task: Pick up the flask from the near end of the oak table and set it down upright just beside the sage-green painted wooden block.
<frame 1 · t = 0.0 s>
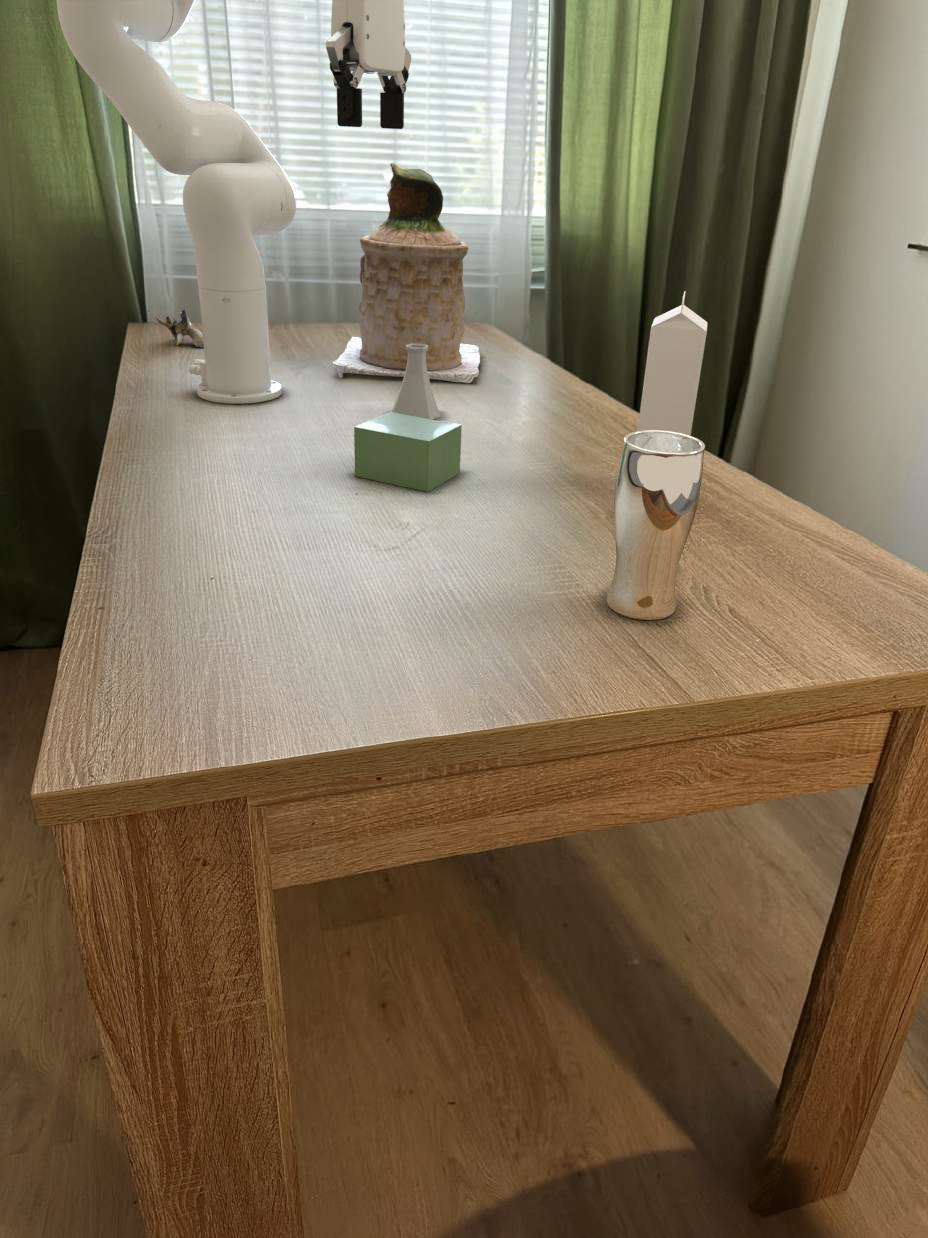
hand: (371, 127, 114), 37 cm above the table, tool pointing down, fingers open, 9 cm apart
green block: (407, 474, 111), on the table
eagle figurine: (187, 344, 171), on the table
beer glass: (640, 606, 82), on the table
milk: (656, 487, 111), on the table
flask: (415, 417, 134), on the table
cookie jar: (410, 366, 163), on the table
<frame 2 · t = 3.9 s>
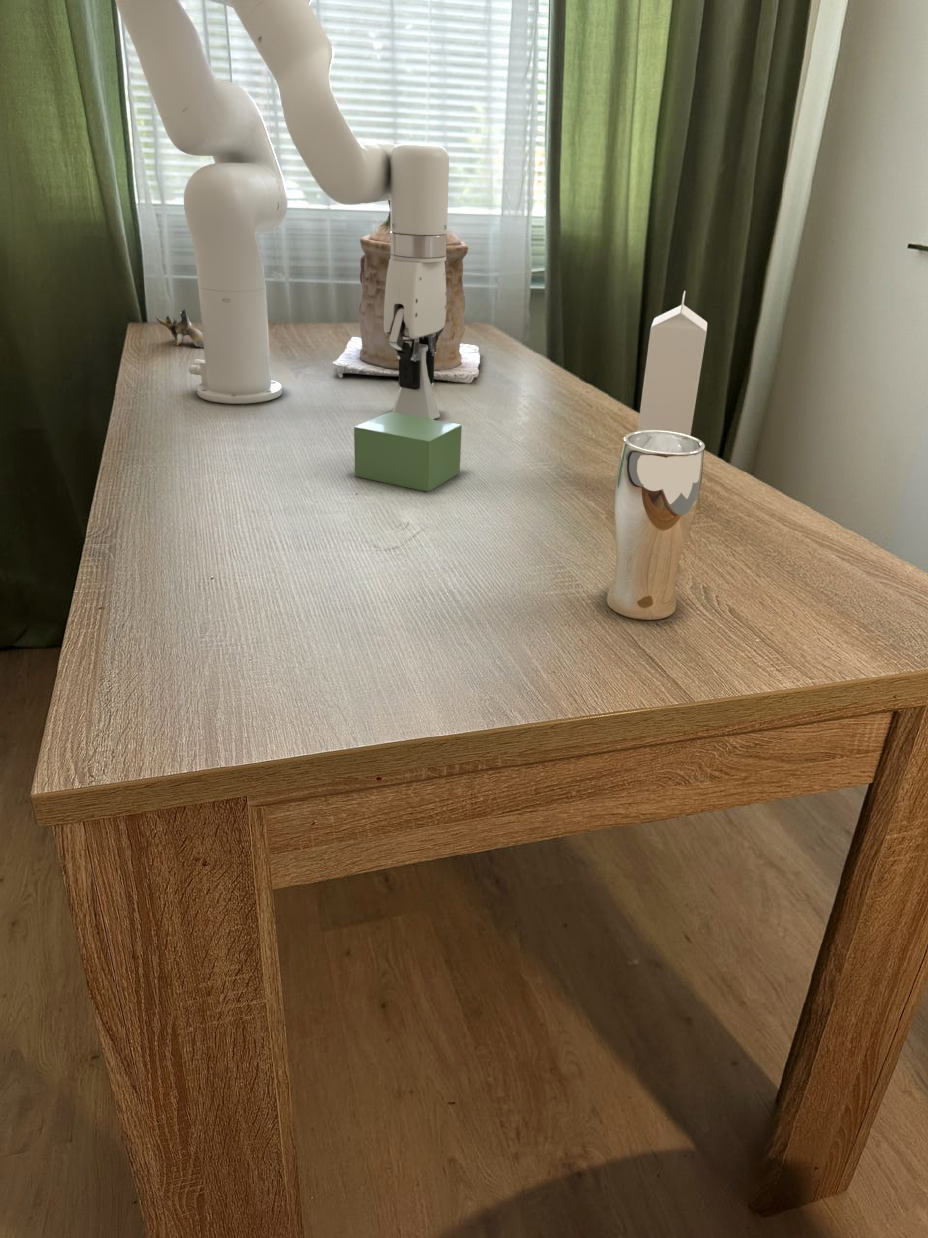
hand: (416, 383, 132), 5 cm above the table, tool pointing down, fingers closed on flask, 3 cm apart
flask: (415, 417, 134), on the table, touching gripper
everything else where it was.
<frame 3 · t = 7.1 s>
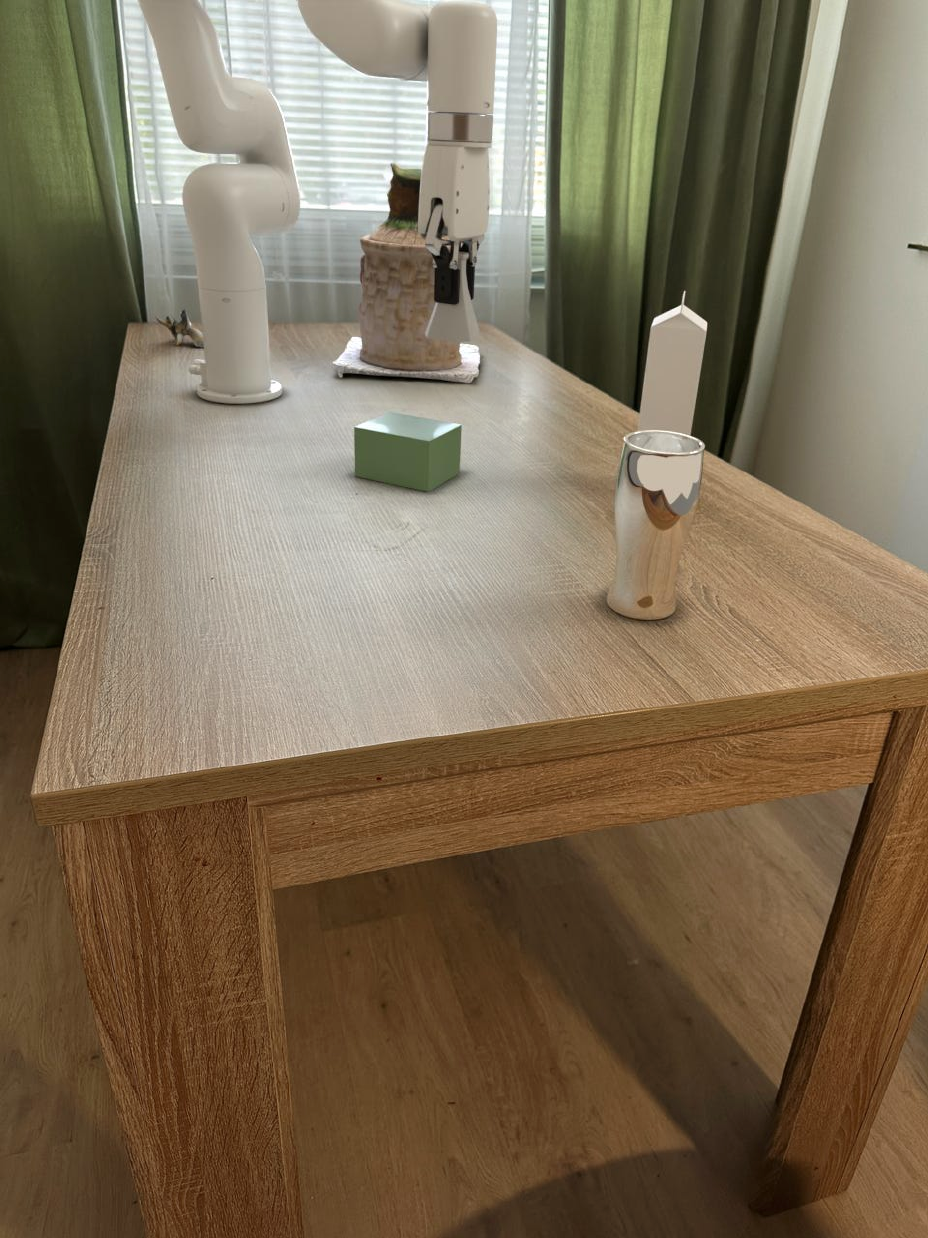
hand: (454, 299, 113), 18 cm above the table, tool pointing down, fingers closed on flask, 3 cm apart
flask: (452, 339, 116), point 14 cm above the table, touching gripper
everything else where it was.
when the fingers open (5 cm above the table, at t = 10.5 s): flask stays where it is, on the table.
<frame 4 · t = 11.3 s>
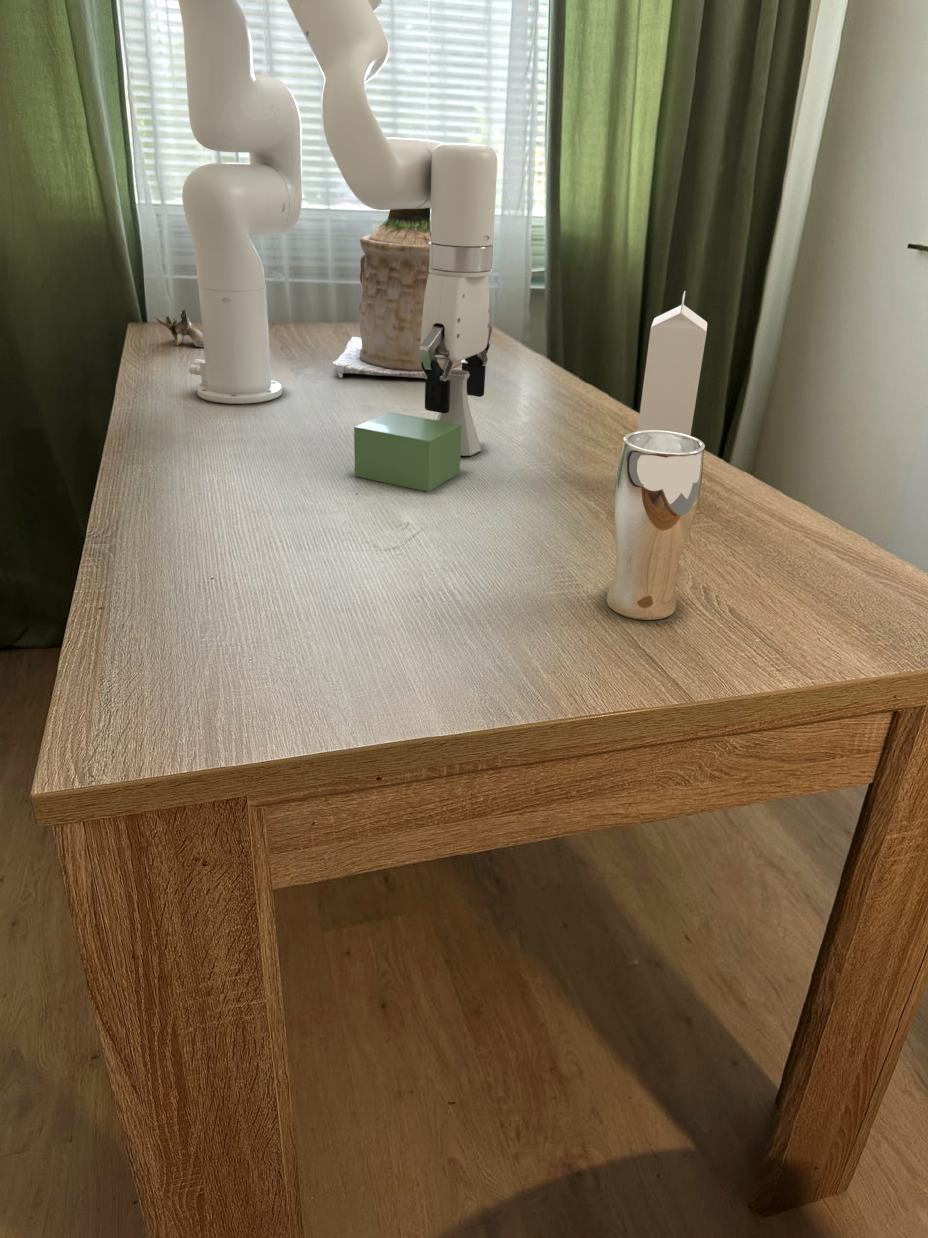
hand: (455, 402, 117), 6 cm above the table, tool pointing down, fingers open, 9 cm apart
flask: (454, 450, 120), on the table
everything else where it was.
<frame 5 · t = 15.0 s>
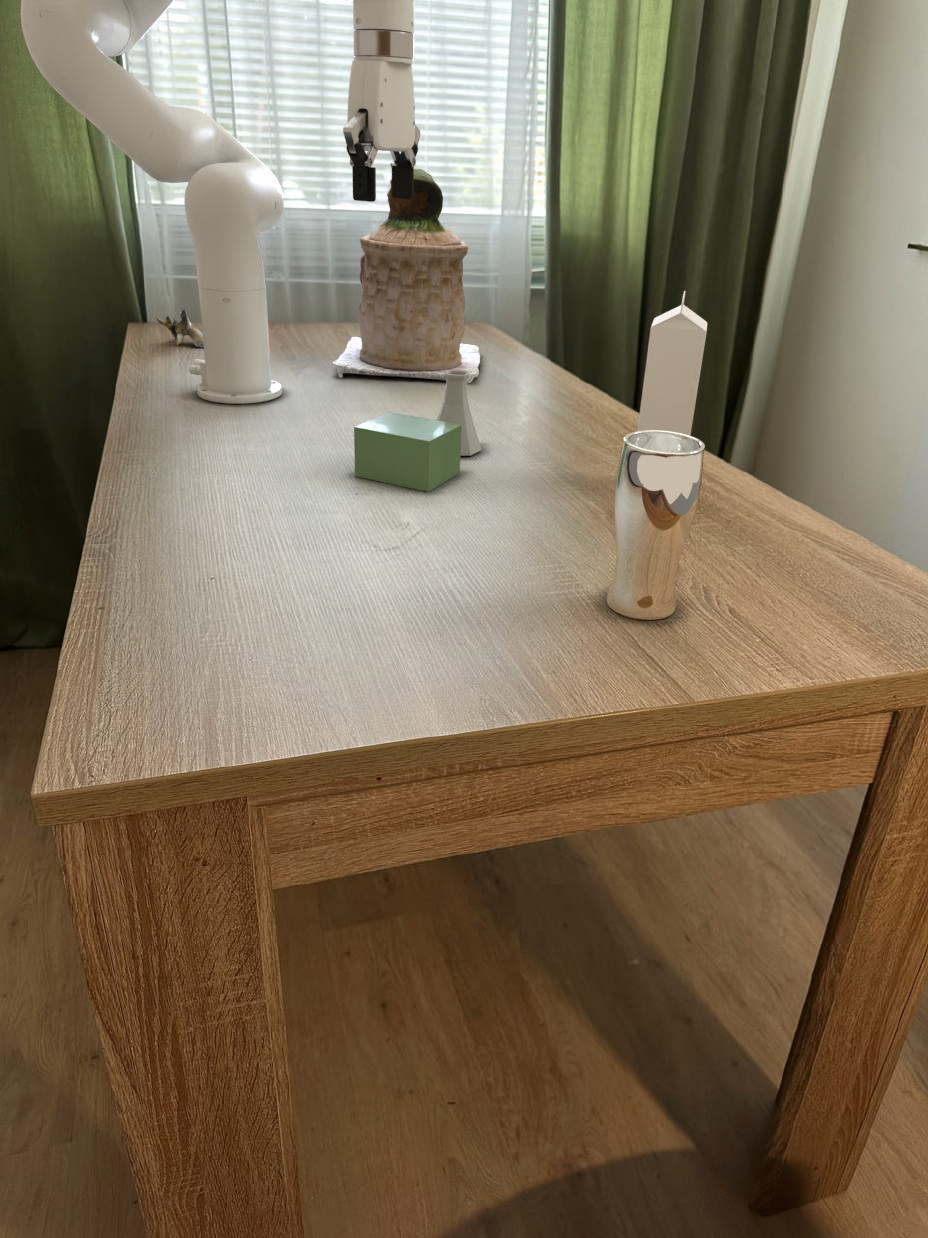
hand: (384, 199, 124), 28 cm above the table, tool pointing down, fingers open, 9 cm apart
nothing on the table moved.
at the end: flask inside the target area on the table beside the green block (0.2 cm from its centre), on the table; flask tilted 0°; green block moved 0.0 cm from its start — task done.
